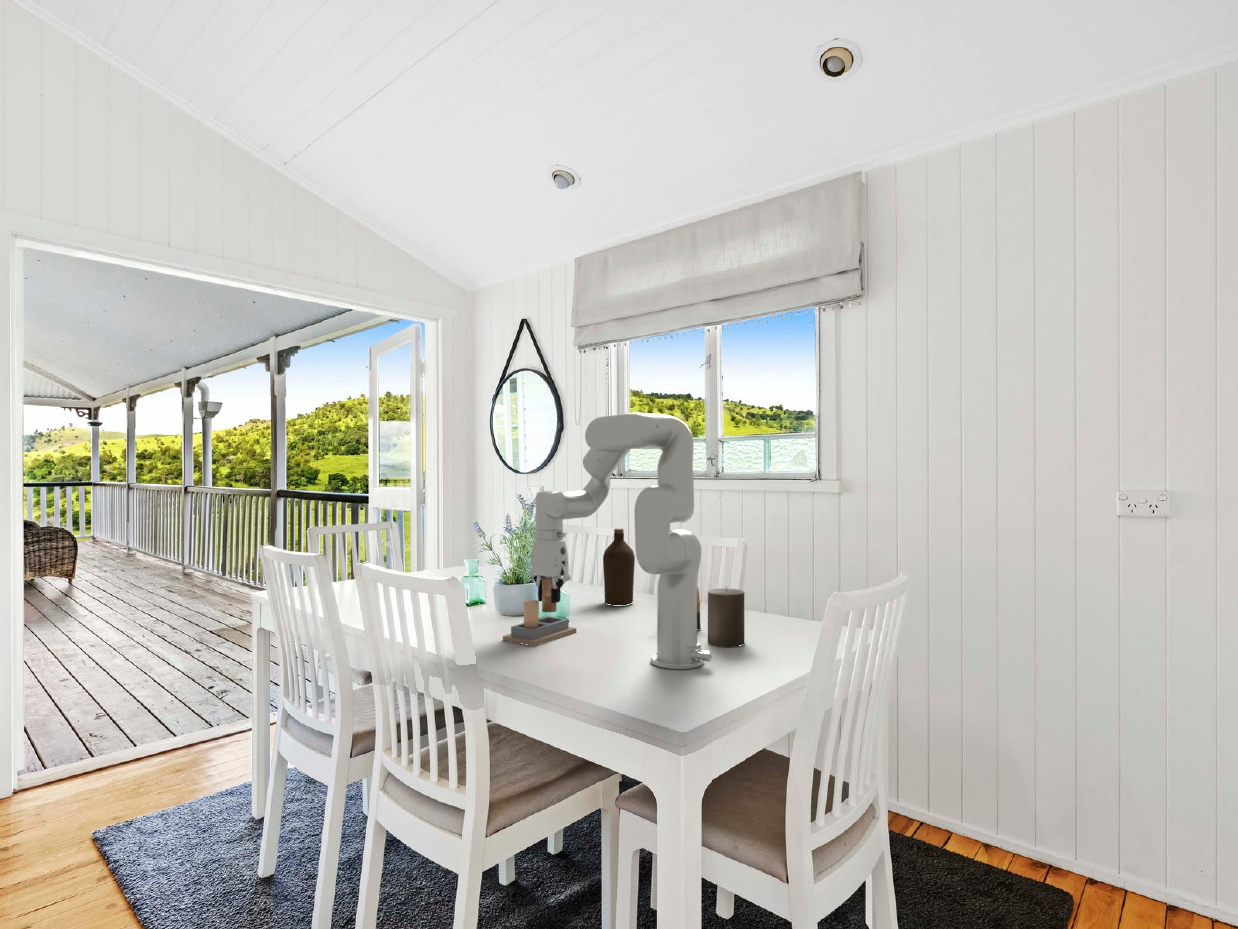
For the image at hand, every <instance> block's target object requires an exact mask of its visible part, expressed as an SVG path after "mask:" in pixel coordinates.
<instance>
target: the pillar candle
mask: <svg viewBox="0 0 1238 929" xmlns="http://www.w3.org/2000/svg"><path fill="white" fill-rule="evenodd" d="M745 632H746V631H745V591H744V590H742V589H738V588H727V586H725V588H713V589H708V590H707V643H708V644H709V643H710V644H709V645H711V644H712V645H711V646H714V647H719V648H734V647H733V646H739V645H742V644H744V645H745ZM742 646H743V645H742ZM739 647H740V646H739Z"/></svg>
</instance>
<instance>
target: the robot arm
mask: <svg viewBox="0 0 1238 929" xmlns="http://www.w3.org/2000/svg"><path fill="white" fill-rule="evenodd" d="M584 438H585V443H586V445H587V446H588V447H589V449H588V451H587V453H586V454H585V455H584V457H583V458H582V466H583V468H584V469H585V471H586V473H588V474H589V475H590V476H591V478H590V480H589V481H588V482H587V484H586V485H585V486H584V487H583V489H582V490H581V489H579V490H567V491H566V490H564V491H559V490H542V491H541V490H540V491H538V492H537V493H536V495H535V539H534V540H533V545H532V550H531V551H532V552H531V568H530V570H529V572H528V575H529V576H530V577H531V578H532V579H533V581H534V583H535V585H536V588H537V597H538V598H537V601H539V602H542V578H546V577H552V584H553V589H551V602H552V603H559V602H561V589H562V588H563V586H564V584H565V583H566V582H568V581H569V580H570V579H571V576H570V574H569V570H570V569H569V568H570V567H569V555H568V547H567V542H566V540H564V538H565V537H566V532H564V520H572V519H582V518H588V517H590V516H592V515H593V514H594V513H596V512H597V511H598V510H599V508H600V507H601V506H602V505H603V503H604V502H605V500H607V497H608V495H609V492H610V487H611V476H612V475H613V473H614V472H615V470H616V469H617V468H618V466H619V465H620V464H621V462H623V460H624V459H625V458H626V456H627V455H628V453H629V452H630V450H637V449H639V450H642V449H643V450H661V455H659V458H658V463H657V469H656V470H657V484H654V485H650V486H647V487H645V488H644V489H642V490H641V491H640V493H639V494H638V496H637V498H636V500H635V503H634V504H635V505H634V547H635V556H636V557H635V558H636V561H637V563H638V565H639V566H640V568H641V569H642V571H644V572H646V573H647V574H649V575H659V577H658V582H657V592H656V593H657V595H656V596H657V597H656V598H657V599H656V601H657V602H656V605H657V606H656V612H657V614H656V618H657V620H656V624H657V625H656V636H657V637H656V638H657V640H656V643H657V646H656V652H654V653H653V654H651V656H650V663H651V664H652V665H654V666H656V667H659V668H661V669H662V668H663V669H668V670H669V669H670V670H688V669H689V670H690V669H695V668H699V667H701V666H702V665H703V664H704V662H708V663H710V662H711V661H712V658H713V656H712V652H711V651H710V650H703V649H702V643H699V642H698V630H697V587H698V583H699V581H698V580H699V579H698V578H699V571H700V564H701V561H702V560H701V559H702V547H701V542H700V540H699V538H698V537H697V536H696V535H695V534H694V533H693V532H691V531H689V530H685V529H680V528H679V529H671V526H672V525H680V524H683V523H687V522H688V521H689V520H690V519H691V518H692V517H693V515H694V513H695V512H694V510H695V488H694V485H695V484H694V465H693V464H694V463H693V462H694V437H693V433H692V432H691V430H690V428H689V426H688V425H687V424H686V423H685V422H684V421H682V420H681V419H679V418H678V417H675V416H672V415H667V414H663V413H662V414H661V413H645V412H644V413H643V412H630V413H629V412H628V413H623V414H621V413H620V414H614V415H606V416H605V415H604V416H599V417H596V418H594V419H593V420H592V421H590V423H589V424H588V425H587V427H586V429H585V432H584Z"/></svg>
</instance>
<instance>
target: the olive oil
mask: <svg viewBox="0 0 1238 929" xmlns="http://www.w3.org/2000/svg"><path fill="white" fill-rule="evenodd" d="M602 556H603V557H602V563H603V564H602V565H603V566H602V567H603V582H604V584H603V587H604V603H605V602H606V603H607V604H611V605H627V604H630V603H632V602H633V603H634V585H635V584H634V583H635V582H634V581H635V565H636V564H635V563H636V559H635V558H636V557H635V556H636V555H635V553H634V550H633V549H632V548H631V546H630V545H629V544H628V543H627V542H626V541H625V533H624V528H613V541H612V542H611V543H610V544H609V545H608V547H607V548H606V549H605V550H604V553H603V555H602Z"/></svg>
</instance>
